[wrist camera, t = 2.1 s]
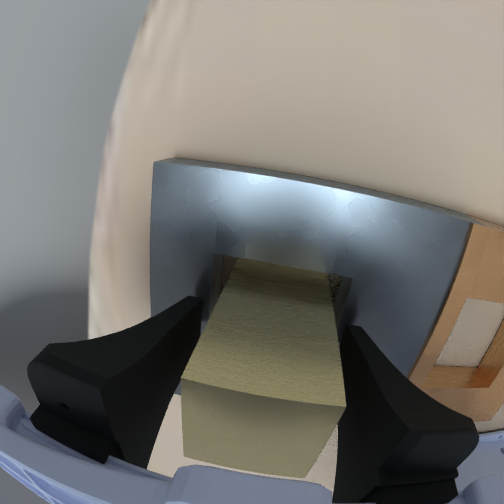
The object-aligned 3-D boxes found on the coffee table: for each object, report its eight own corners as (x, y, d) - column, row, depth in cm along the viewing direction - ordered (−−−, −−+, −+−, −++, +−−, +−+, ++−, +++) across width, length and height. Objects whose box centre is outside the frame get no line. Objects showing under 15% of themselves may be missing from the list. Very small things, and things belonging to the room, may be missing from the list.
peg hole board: (558, 247, 11) (579, 261, 9) (481, 401, 16) (491, 422, 14) (173, 157, 13) (151, 162, 11) (168, 366, 17) (155, 390, 15)
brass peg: (326, 270, 14) (346, 406, 6) (307, 340, 15) (304, 478, 8) (240, 255, 14) (180, 377, 7) (230, 326, 16) (184, 456, 8)
